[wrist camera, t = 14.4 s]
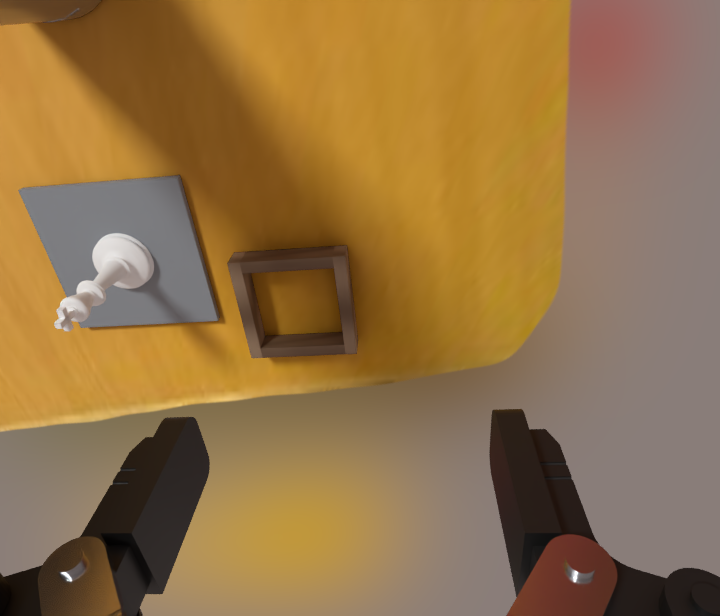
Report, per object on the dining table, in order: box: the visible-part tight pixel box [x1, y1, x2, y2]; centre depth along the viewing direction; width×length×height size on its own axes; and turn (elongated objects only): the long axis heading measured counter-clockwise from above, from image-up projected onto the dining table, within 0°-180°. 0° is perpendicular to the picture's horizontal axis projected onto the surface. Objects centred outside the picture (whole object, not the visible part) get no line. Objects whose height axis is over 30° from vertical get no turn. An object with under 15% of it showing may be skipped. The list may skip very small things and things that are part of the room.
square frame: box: [227, 245, 358, 358], centre depth 44 cm, size 10×10×2 cm
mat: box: [18, 175, 220, 328], centre depth 43 cm, size 13×13×1 cm
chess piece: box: [54, 233, 154, 331], centre depth 38 cm, size 5×5×10 cm
